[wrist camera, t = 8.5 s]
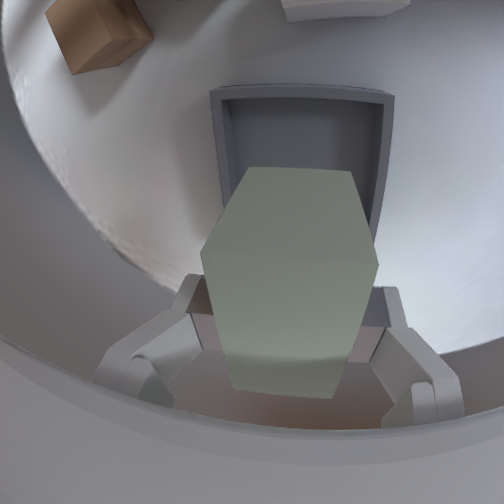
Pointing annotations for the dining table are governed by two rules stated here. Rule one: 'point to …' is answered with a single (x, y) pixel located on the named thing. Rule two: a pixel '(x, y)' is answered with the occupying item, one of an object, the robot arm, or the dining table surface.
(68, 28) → the block walnut
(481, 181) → the dining table surface
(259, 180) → the block sage
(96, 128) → the dining table surface
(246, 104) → the slate dish
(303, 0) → the block grey
